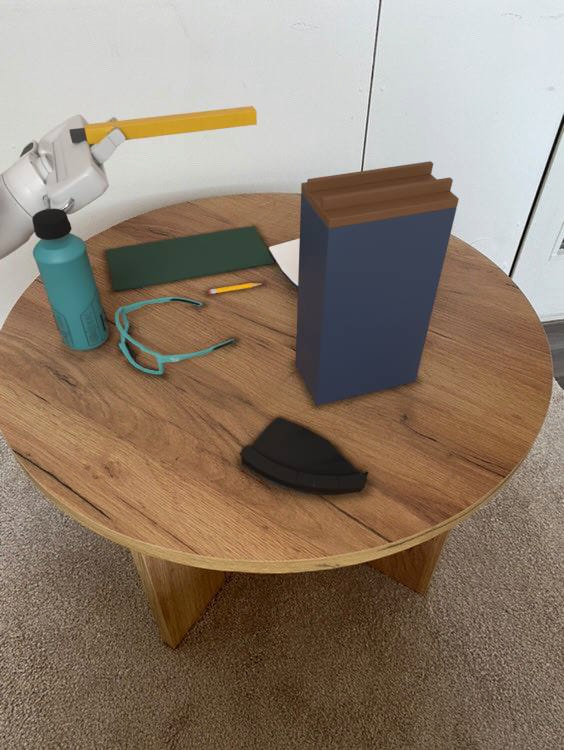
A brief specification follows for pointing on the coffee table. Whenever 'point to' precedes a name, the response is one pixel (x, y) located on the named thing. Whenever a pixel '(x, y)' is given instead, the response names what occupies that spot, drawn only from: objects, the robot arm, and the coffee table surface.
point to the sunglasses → (160, 358)
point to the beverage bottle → (69, 281)
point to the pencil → (233, 288)
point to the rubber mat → (186, 258)
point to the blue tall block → (369, 276)
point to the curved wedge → (300, 461)
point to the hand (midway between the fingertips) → (120, 127)
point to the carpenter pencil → (168, 124)
